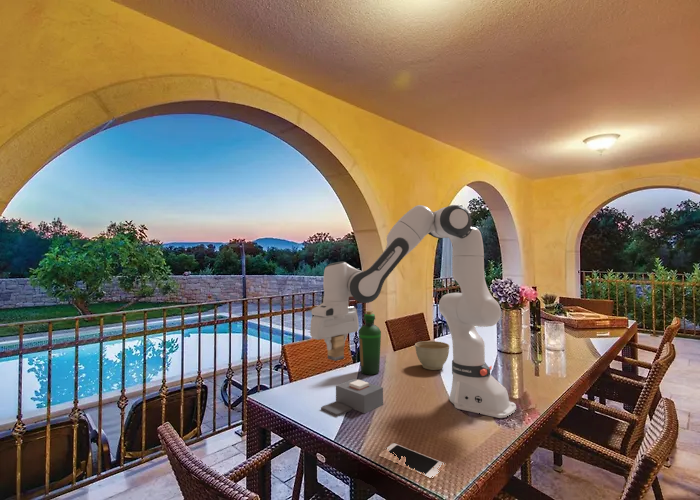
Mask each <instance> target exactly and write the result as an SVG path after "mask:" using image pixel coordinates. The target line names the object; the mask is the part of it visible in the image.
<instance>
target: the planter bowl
mask: <svg viewBox="0 0 700 500" xmlns="http://www.w3.org/2000/svg"><path fill="white" fill-rule="evenodd" d="M414 347H415V353H416V357H417V359H418V360H419V362H420V364H421V366H422V368H423V369H425V370H430V371H437V370H439V371H440V370H442V369H443V367H444V365H445V364H446V362H447V360H448V357H449V352H450V345H449V344H448V343H446V342H444V341H443V342H442V341H438V340H436V341H434V340H425V341H418V342H416V343H415V344H414Z"/></svg>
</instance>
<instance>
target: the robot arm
mask: <svg viewBox="0 0 700 500" xmlns="http://www.w3.org/2000/svg"><path fill="white" fill-rule="evenodd" d="M427 235H429V236H431V237H433V238H436V239H449V240H450V242H451V245H452V254H451V256H452V262H451V265H452V268H451V269H452V278H453V279H454V280H455V281H456V282H457V284H458V285H459V288H460V291H461V292H450V293H446V294H444V295H442V297H441V298H440V299H439V302H438V310H439V312H440V314H441V316H442V317H443V318H444V319H445V322H446V324H447V326H448V329H449V332H450V336H451V341H452V361H451V374H452V383H451V390H450V394H449V398H448V400H449V402H450V403H452V404H453V405H454V408H455V409H458V410H462V411H467V412H471V413H475V414H479V413H480V415H484V416H489V417H493V418H498V419H503V418H508V417H510V416H511V414H512V413H513V414H514V413H515V412H516V411H515V410H517V405H516V403H515V402H513V401H510V397H509V394H508V390H507V388H506V387H505V386H504V385H502V384H501V383H500V382H499V381H498V380H497V379H496V378H495V377H494V376H493V375H492V374H491V370H493V367H492V365H490V366H489V365H488V364H487V363H486V359H485V358H486V356H485V355H486V354H485V353H486V350H485V347H486V346H485V345H486V343H485V341H484V339H483V337H481V335H480V334H479V333H478V331H477V329H476V327H478V328H480V327H482V328H483V327H484V328H485V327H493V326H495V325H497V323H498V322H499V321H500V319H501V316H502V309H501V306H500V304H499V302H498V301H497V300H496V299H495V298H494V297H493V295H492V294H491V292H490V291H489V288H488V285H487V282H486V277H485V260H484V259H485V253H484V252H485V251H484V242H483V237H482V233H481V231H480V229H478V228H477V227H474V224H473V221H472V217H471V214H470V213H469V211H468V209H466V208H465V207H464V206H462V205H459V204H452V205H451V204H450V205H447V206H445V207H442V208H439V209H438V210H435V211H433V210H431V209H430V208H429V207H427V206H426V205H421V204H418V205H415V206H414V207H412V208H410V209H409V210H408V211H407V212H405V214H403V216H401V217H400V218H399V220H397V222H396V223H394V224H393V226H392V228H391V229H390V231H389V232H388V233H387V235H386V247H385V248H384V251H383V252H381V254H380V256H379V257H378V258H377V259H376V260H375V261H374V263H372V265H371V266H370V267H369V268H367V269H366V270H364V271H363V270H360V269H357V268H355V267H354V266H352V265H350V264H349V263H347V262H346V261H338V262H332V263H329V264H327V265H326V266H325V268H324V271H323V280H322V281H323V284H322V285H323V286H322V287H323V291H324V292H323V293H324V296H323V299H322V301H323V302H321V303H320V304H319V305H317V306H314V307H313V308H312V309H311V315H312V317H311V319H310V326H309V327H310V329H309V330H310V331H309V332H310V336H311V339H314V340H319V341H320V340H324V343H325V344H326V350H327V351H328V350H333V344H331V342H330V340H331V337H333V336H338V335H344V347H345V345H346V344H345V342H346V340H347V337H348V334H351V333H355V332H356V333H357V332H359V329H360V325H359V323H360V322H359V317H358V316H359V315H358V310H357V308H356V307H355V306H354V305H352V306H349V301H350V300H349V298H350V297H352V298H353V299H354V300H356V301H357V302H358V303H361V304H369V303H372V302H374V301H375V300H376V299H377V298H378V297H380V294H381V291H382V289H383V285H384V283H385V281H386V279H387V278H388V277H390V274H391V273H392V272H393V271H394V270H395V268H396V267H397V265H399V263H400V262H401V261H402V260H403V259H404V258H405V257H406V256H407V255H408V254H410V253H411V252H412V251H413V250H414V249H415V248H416V247H417V246H418V245H419V244H420V243H421V242H422V240H423V239H424V238H425V237H426V236H427ZM513 414H512V415H513ZM509 415H510V416H509ZM507 416H508V417H507Z"/></svg>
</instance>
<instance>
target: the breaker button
mask: <svg viewBox="0 0 700 500" xmlns="http://www.w3.org/2000/svg"><path fill="white" fill-rule="evenodd" d="M369 383H370V382H368V381H366V380H365V381H364V380H362V379H357V380H356V381H354V382H351V383H349V387H351V388H354V389H356V390H359V391H360V390H362V389H365V388H367V387H369Z"/></svg>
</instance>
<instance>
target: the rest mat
mask: <svg viewBox="0 0 700 500" xmlns="http://www.w3.org/2000/svg"><path fill="white" fill-rule="evenodd" d="M320 409H321V411H323V412H326V413H327V414H331V415H332V416H334V417H340V416H342V415H344V414H347V413H348V412H351V411H352V410H353V409H352V408H351V407H349V406H346V405H344V404H341V403H339V402H336V401H334V402H331V403H328V404H325V405H324V406H321V407H320Z"/></svg>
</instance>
